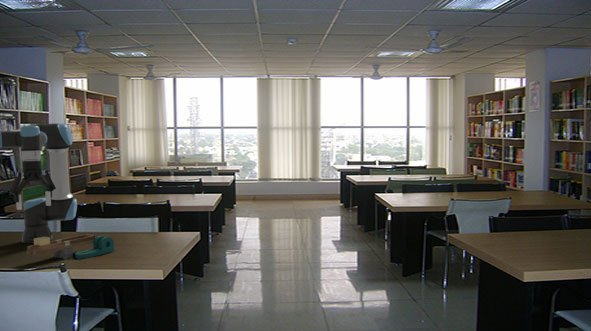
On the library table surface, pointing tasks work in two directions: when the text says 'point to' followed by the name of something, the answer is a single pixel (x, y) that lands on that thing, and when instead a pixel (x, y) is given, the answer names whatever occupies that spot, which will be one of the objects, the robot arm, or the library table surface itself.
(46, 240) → the block
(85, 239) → the brown long open piece
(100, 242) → the bracket
